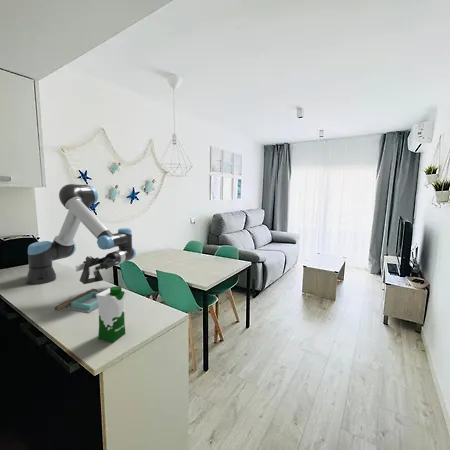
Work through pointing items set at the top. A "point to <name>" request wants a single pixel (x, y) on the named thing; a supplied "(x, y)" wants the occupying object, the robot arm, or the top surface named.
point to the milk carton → (111, 314)
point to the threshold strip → (68, 302)
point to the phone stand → (85, 273)
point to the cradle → (85, 303)
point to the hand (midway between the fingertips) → (83, 269)
